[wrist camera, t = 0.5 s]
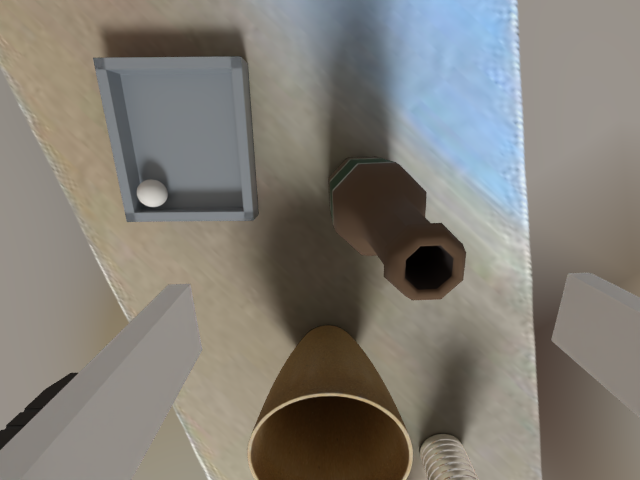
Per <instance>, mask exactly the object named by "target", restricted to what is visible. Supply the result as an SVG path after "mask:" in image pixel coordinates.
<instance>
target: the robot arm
mask: <svg viewBox="0 0 640 480" xmlns="http://www.w3.org/2000/svg"><path fill="white" fill-rule="evenodd" d="M552 341H553V342H554V343H555V344H556V345H557V346H558V347H560V348H561V349H562V350H563V351H564V352H565V353H566V354H567V355H569V356H570V357H571V358H572V359H573V360H574V361H575V362H577V363H578V364H579V365H580V366H581V367H582V368H583V369H585V370H586V371H587V372H588V373H589V374H590V375H591V376H593V377H594V378H595V379H596V380H597V381H598V382H599V383H601V384H602V385H603V386H604V387H605V388H606V389H607V390H609V391H610V392H611V393H612V394H613V395H614V396H615V397H616V398H618V399H619V400H620V401H621V402H622V403H623V404H625V405H626V406H627V407H628V408H629V409H630V410H631V411H633V412H634V413H635V414H636V415H637V416H638V417H639V418H640V298H639V297H638V296H636V295H634V294H632V293H630V292H628V291H626V290H624V289H622V288H619V287H618V286H616V285H614V284H612V283H610V282H608V281H606V280H604V279H602V278H600V277H598V276H596V275H594V274H592V273H569V274H568V276H567V280H566V284H565V288H564V292H563V296H562V300H561V304H560V308H559V312H558V316H557V320H556V324H555V328H554V332H553V336H552ZM201 351H202V346H201V340H200V335H199V329H198V323H197V318H196V312H195V307H194V301H193V296H192V290H191V285H190V284H168V285H167V286H166V287H165V288H164V289H163V290H162V291H161V292H160V293H159V294H158V295H157V296H156V297H155V298H154V299H153V300H152V301H151V302H150V303H149V304H148V305H147V306H146V307H145V308H144V309H143V310H142V311H141V312H140V313H139V314H138V315H137V316H136V317H135V318H134V319H133V320H132V321H131V322H130V323H129V324H128V325H127V326H126V327H125V328H124V329H123V330H122V331H121V332H120V333H119V334H118V335H117V336H116V337H115V338H114V339H113V340H112V341H111V342H110V343H109V344H108V345H107V346H106V347H105V348H103V349H102V351H101V352H100V353H98V354H97V356H95V357H94V358H93V359H92V360H91V361H90V362H89V363H88V364H87V365H86V366H85V367H84V368H83V369H82V370H81V371H80V372H79V373H70V374H68V375H67V376H65V377H64V378H62V379H61V380H59V381H58V382H56V383H54V384H53V385H51V386H50V387H48V388H46V389H45V390H44V391H43V392H42V393H41V394H40V395H39V396H38V397H37V398H35V400H33V401H32V402H31V403H30V404H29V405H28V406H27V407H26V408H25V410H24V412H21V413H19V414H18V415H17V416H16V417H15V418H14V419H13V420H12V421H11V422H10V423H8V424H7V425H6V429H5V430H1V431H0V480H131V479H132V478H133V476H134V474H135V472H136V470H137V469H138V466H139V465H140V463H141V461H142V459H143V458H144V456H145V454H146V452H147V450H148V448H149V446H150V445H151V443H152V441H153V439H154V437H155V435H156V434H157V432H158V430H159V428H160V426H161V424H162V423H163V421H164V419H165V417H166V415H167V413H168V412H169V410H170V408H171V406H172V404H173V403H174V401H175V399H176V397H177V395H178V393H179V392H180V390H181V388H182V386H183V384H184V382H185V381H186V379H187V377H188V375H189V373H190V371H191V370H192V368H193V366H194V364H195V362H196V360H197V359H198V357H199V355H200V353H201Z"/></svg>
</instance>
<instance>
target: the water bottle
mask: <svg viewBox="0 0 640 480" xmlns="http://www.w3.org/2000/svg"><path fill="white" fill-rule="evenodd" d="M420 455H421V460H422V464H423V467H424V470H425V473H426V476H427V479H428V480H479V478H478V476H477V474H476V472H475V469H474V468H473V466H472V463H471V461H470V459H469V457H468V455H467V453H466V451H465V449H464V447H463V445H462V444H461V442H460V441H459V440H458V439H457V438H456V437H454V436H452V435H449V434H437V435H433V436H431V437H429V438H428V439H426V440H425V441H424V443H423V444H422V446H421V449H420Z"/></svg>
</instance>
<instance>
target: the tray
mask: <svg viewBox="0 0 640 480" xmlns="http://www.w3.org/2000/svg"><path fill="white" fill-rule="evenodd" d="M93 60H94V65H95V70H96V75H97V80H98V84H99V89H100V94H101V99H102V104H103V109H104V113H105V118H106V123H107V128H108V133H109V138H110V142H111V147H112V152H113V157H114V162H115V167H116V171H117V176H118V181H119V186H120V191H121V196H122V200H123V205H124V210H125V215H126V220H127V222H150V221H250V220H254V219H255V218H256V217H257V216H258V214H259V213H258V199H257V185H256V171H255V157H254V143H253V129H252V115H251V101H250V87H249V73H248V64H247V63H246V61H245V60H244V59H243V58H242V57H241V56H240V57H125V58H93ZM150 179H152V180H157V181H159V182H161V183H162V184H164V186H165V187H166V189H167V192H168V197H167V200H166V201H165V202H164V203H163V204H162V205H160V206H158V207H149V206H146V205H144V204H143V203H141V202H140V200H139V199H138V197H137V188H138V186H139V185H140V183H142V182H143V181H145V180H150Z"/></svg>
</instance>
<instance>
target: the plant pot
mask: <svg viewBox="0 0 640 480" xmlns="http://www.w3.org/2000/svg"><path fill="white" fill-rule="evenodd" d="M247 455H248V464H249V467H250V470H251V473H252V475H253V477H254V479H255V480H406V479H407V477H408V475H409V473H410V470H411V467H412V463H413V447H412V443H411V439H410V437H409V434H408V432H407V429H406V427H405V425H404V423H403V420H402V418H401V416H400V414H399V412H398V409H397V407H396V405H395V403H394V401H393V399H392V397H391V395H390V393H389V391H388V389H387V388H386V386H385V384H384V382H383V380H382V379H381V377H380V375H379V373H378V372H377V370H376V369H375V367H374V365H373V364H372V362H371V361H370V359H369V358H368V357H367V355H366V354H365V352H364V351H363V350H362V349H361V347H360V346H359V345H358V344H357V342H356V341H355V340H354V339H353V338H352V337H351V336H350V335H349V334H348V333H347V332H346V331H345V330H343V329H341V328H339V327H336V326H330V325H326V326H319V327H317V328H314V329H313V330H311V331H310V332H308V333H307V334H306V335H305V337H304V338H303V339H302V340H301V341H300V343H299V344H298V345H297V346H296V348H295V349H294V350H293V352H292V353H291V355H290V356H289V358H288V359H287V361H286V362H285V364H284V366H283V367H282V369H281V371H280V373H279V375H278V376H277V378H276V380H275V382H274V384H273V386H272V388H271V390H270V392H269V394H268V396H267V399H266V401H265V403H264V405H263V408H262V410H261V412H260V415H259V417H258V420H257V422H256V424H255V427H254V429H253V432H252V435H251V437H250V440H249V444H248V451H247Z"/></svg>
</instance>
